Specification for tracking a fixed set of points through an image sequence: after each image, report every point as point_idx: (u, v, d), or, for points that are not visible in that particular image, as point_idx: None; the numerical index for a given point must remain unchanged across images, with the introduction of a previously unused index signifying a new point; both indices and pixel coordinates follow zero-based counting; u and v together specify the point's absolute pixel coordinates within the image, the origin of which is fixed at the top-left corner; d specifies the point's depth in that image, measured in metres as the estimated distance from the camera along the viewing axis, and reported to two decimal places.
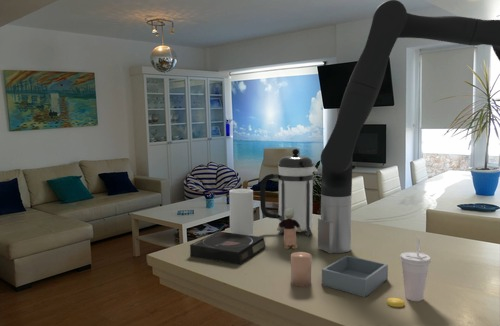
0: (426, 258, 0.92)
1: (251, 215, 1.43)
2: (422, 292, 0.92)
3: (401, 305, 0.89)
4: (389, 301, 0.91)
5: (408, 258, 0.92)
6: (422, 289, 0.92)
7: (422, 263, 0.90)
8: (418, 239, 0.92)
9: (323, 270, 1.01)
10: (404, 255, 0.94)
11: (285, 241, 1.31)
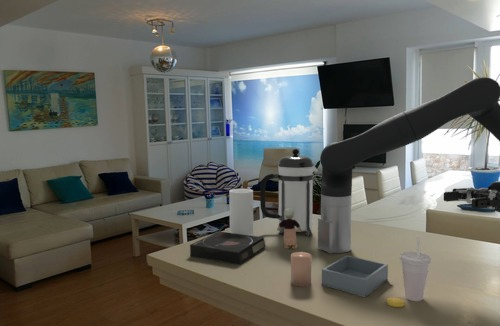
0: (426, 258, 0.92)
1: (251, 215, 1.43)
2: (422, 292, 0.92)
3: (401, 305, 0.89)
4: (389, 301, 0.91)
5: (408, 258, 0.92)
6: (422, 289, 0.92)
7: (422, 263, 0.90)
8: (418, 239, 0.92)
9: (323, 270, 1.01)
10: (404, 255, 0.94)
11: (285, 241, 1.31)
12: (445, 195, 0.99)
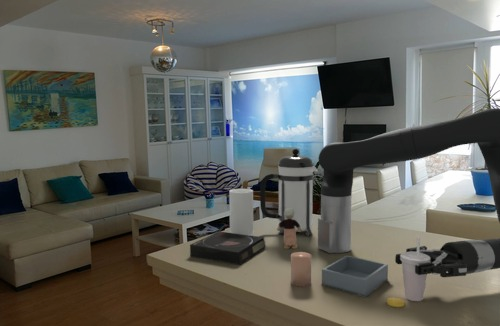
0: (426, 258, 0.92)
1: (251, 215, 1.43)
2: (422, 292, 0.92)
3: (401, 305, 0.89)
4: (389, 301, 0.91)
5: (408, 258, 0.92)
6: (422, 289, 0.92)
7: None
8: (418, 239, 0.92)
9: (323, 270, 1.01)
10: (404, 255, 0.94)
11: (285, 241, 1.31)
12: (397, 258, 0.96)
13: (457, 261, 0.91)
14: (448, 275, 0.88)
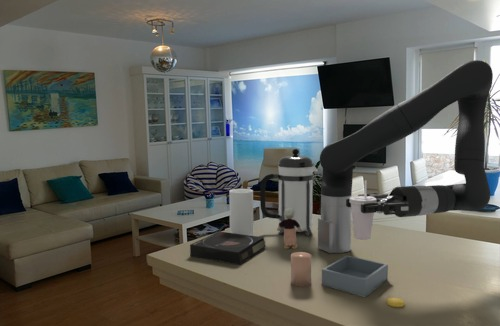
0: (372, 199, 0.98)
1: (251, 215, 1.43)
2: (369, 231, 0.99)
3: (401, 305, 0.89)
4: (389, 301, 0.91)
5: (355, 199, 0.98)
6: (369, 228, 0.99)
7: None
8: (365, 182, 0.99)
9: (323, 270, 1.01)
10: (353, 198, 1.01)
11: (285, 241, 1.31)
12: (347, 201, 1.03)
13: (401, 202, 0.98)
14: (390, 213, 0.95)
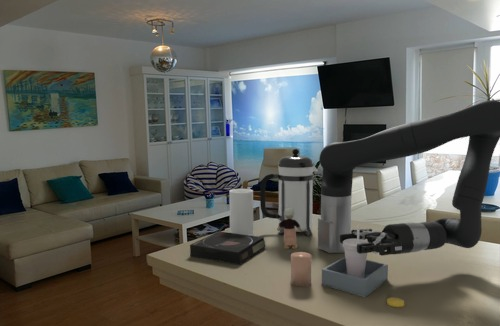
0: None
1: (251, 215, 1.43)
2: (362, 274, 1.01)
3: (401, 305, 0.89)
4: (389, 301, 0.91)
5: (348, 244, 1.01)
6: (362, 272, 1.01)
7: None
8: (358, 226, 1.01)
9: (323, 270, 1.01)
10: (346, 241, 1.03)
11: (285, 241, 1.31)
12: (340, 237, 1.05)
13: (393, 240, 1.00)
14: (386, 253, 0.97)
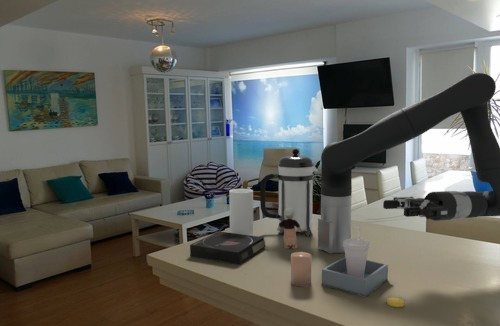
0: (365, 243, 1.01)
1: (251, 215, 1.43)
2: (362, 274, 1.01)
3: (401, 305, 0.89)
4: (389, 301, 0.91)
5: (349, 244, 1.01)
6: (362, 272, 1.01)
7: (360, 248, 0.99)
8: (358, 226, 1.02)
9: (323, 270, 1.01)
10: (346, 241, 1.03)
11: (285, 241, 1.31)
12: (384, 203, 1.08)
13: (438, 206, 1.03)
14: (432, 217, 0.99)
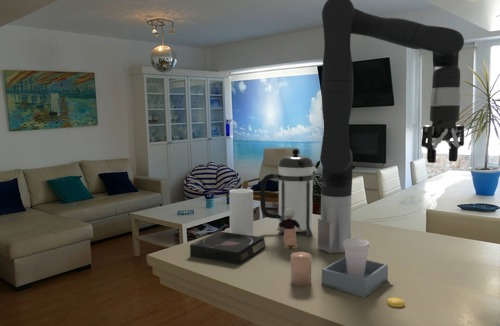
0: (365, 243, 1.01)
1: (251, 215, 1.43)
2: (362, 274, 1.01)
3: (401, 305, 0.89)
4: (389, 301, 0.91)
5: (349, 243, 1.01)
6: (362, 272, 1.01)
7: (361, 248, 0.99)
8: (358, 226, 1.02)
9: (323, 270, 1.01)
10: (346, 241, 1.03)
11: (285, 241, 1.31)
12: (451, 160, 1.21)
13: None
14: (427, 142, 1.14)
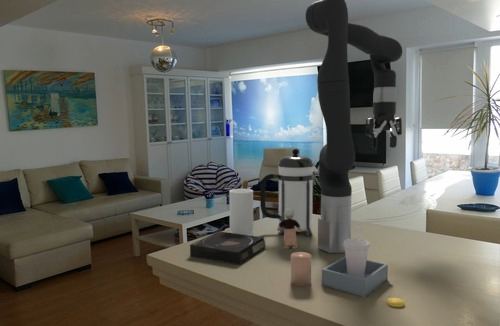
0: (365, 243, 1.01)
1: (251, 215, 1.43)
2: (362, 274, 1.01)
3: (401, 305, 0.89)
4: (389, 301, 0.91)
5: (349, 243, 1.01)
6: (362, 272, 1.01)
7: (361, 248, 0.99)
8: (359, 226, 1.02)
9: (323, 270, 1.01)
10: (347, 241, 1.03)
11: (285, 241, 1.31)
12: (391, 147, 1.47)
13: None
14: (369, 131, 1.41)
